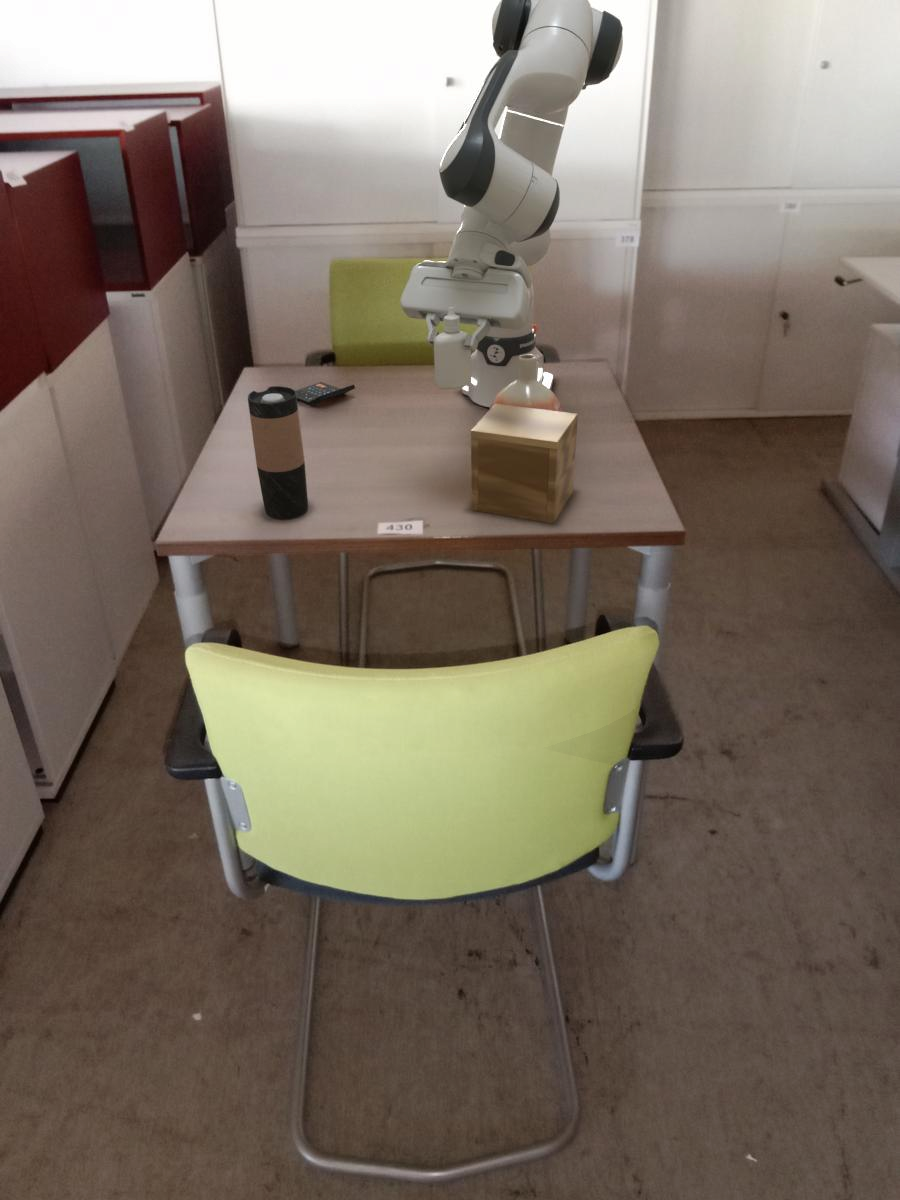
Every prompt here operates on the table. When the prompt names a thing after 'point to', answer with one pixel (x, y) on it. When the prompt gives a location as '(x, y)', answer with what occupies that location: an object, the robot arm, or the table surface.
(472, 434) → the plywood crate
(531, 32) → the robot arm
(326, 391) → the calculator
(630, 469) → the table surface
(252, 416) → the travel mug
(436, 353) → the eye dropper bottle
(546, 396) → the vase
